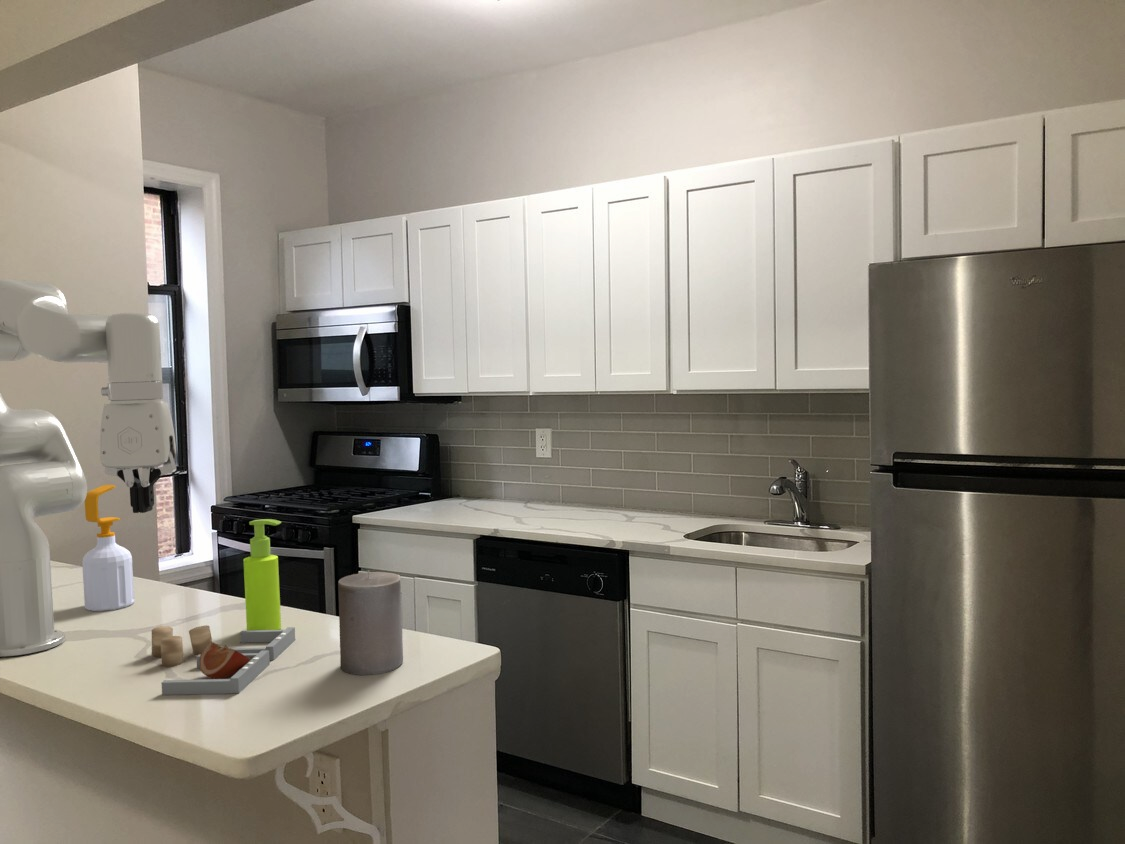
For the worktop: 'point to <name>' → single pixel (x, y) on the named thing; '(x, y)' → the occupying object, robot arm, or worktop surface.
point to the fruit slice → (221, 661)
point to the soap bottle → (106, 563)
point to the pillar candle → (370, 623)
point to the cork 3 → (200, 638)
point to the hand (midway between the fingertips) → (142, 511)
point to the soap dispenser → (262, 581)
